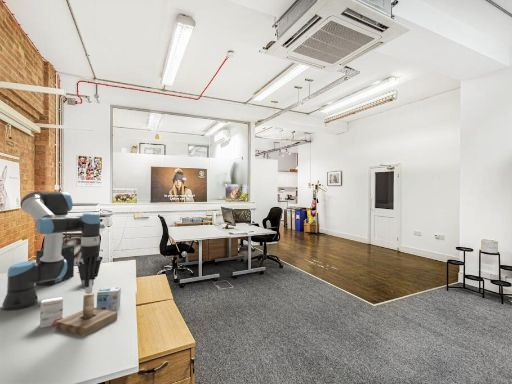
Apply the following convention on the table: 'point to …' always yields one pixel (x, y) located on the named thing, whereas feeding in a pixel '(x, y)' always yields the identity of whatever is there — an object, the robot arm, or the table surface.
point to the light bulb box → (109, 298)
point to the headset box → (68, 255)
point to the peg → (88, 306)
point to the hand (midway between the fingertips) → (88, 293)
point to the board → (86, 322)
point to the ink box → (51, 311)
